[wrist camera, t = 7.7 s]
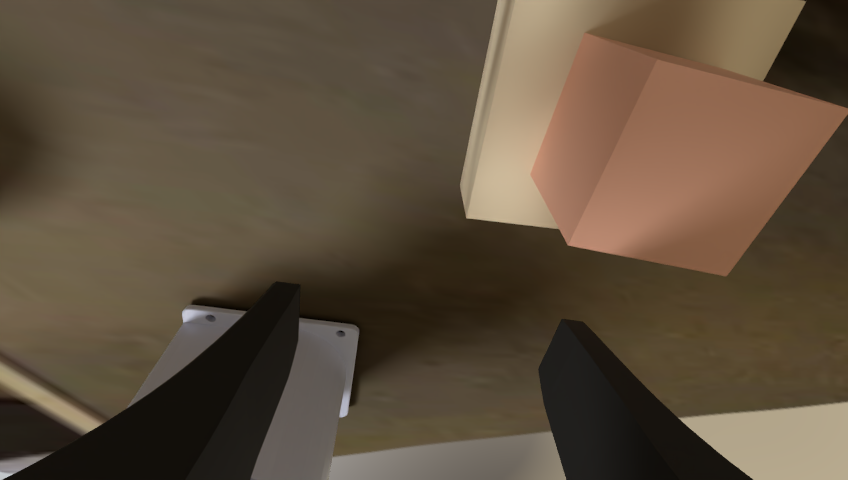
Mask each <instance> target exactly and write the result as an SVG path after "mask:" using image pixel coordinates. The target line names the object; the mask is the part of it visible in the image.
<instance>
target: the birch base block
mask: <svg viewBox="0 0 848 480" xmlns="http://www.w3.org/2000/svg"><path fill="white" fill-rule="evenodd" d="M805 3H806V1H802V0H498V2H497V7H496V12H495V17H494V22H493V27H492V31H491V36H490V41H489V46H488V51H487V56H486V61H485V66H484V70H483V75H482V80H481V85H480V90H479V95H478V100H477V105H476V109H475V114H474V119H473V124H472V129H471V134H470V139H469V144H468V148H467V153H466V158H465V163H464V168H463V173H462V178H461V183H460V189H461V194H462V199H463V204H464V208H465V213H466V218H470V219H478V220H486V221H495V222H503V223H512V224H520V225H529V226H537V227H546V228H554V229H559V228H558V226H557V224H556V222H555V220H554V218H553V216H552V215H551V213H550V211H549V209H548V207H547V205H546V203H545V201H544V200H543V198H542V196H541V194H540V192H539V190H538V188H537V186H536V185H535V183H534V181H533V179H532V177H531V175H530V173H531V171H532V168H533V165H534V163H535V160H536V158H537V155H538V152H539V150H540V147H541V145H542V142H543V139H544V137H545V134H546V131H547V129H548V126H549V124H550V121H551V118H552V116H553V113H554V111H555V108H556V105H557V103H558V100H559V98H560V95H561V92H562V90H563V87H564V85H565V82H566V79H567V77H568V74H569V72H570V69H571V66H572V64H573V61H574V58H575V56H576V53H577V51H578V48H579V45H580V43H581V40H582V38H583V35H584V33H588V34H592V35H596V36H599V37H603V38H607V39H611V40H615V41H619V42H622V43H626V44H630V45H634V46H638V47H642V48H646V49H649V50H653V51H657V52H661V53H665V54H669V55H672V56H676V57H680V58H684V59H688V60H692V61H695V62H699V63H703V64H707V65H711V66H715V67H719V68H722V69H726V70H729V71H732V72H735V73H738V74H741V75H745V76H748V77H751V78H754V79H757V80H760V81H763V80H764V79H765V77H766V75H767V73H768V71H769V69H770V67H771V66H772V64H773V62H774V60H775V58H776V56H777V54H778V53H779V51H780V49H781V47H782V45H783V43H784V42H785V40H786V38H787V36H788V34H789V32H790V30H791V29H792V27H793V25H794V23H795V21H796V19H797V17H798V16H799V14H800V12H801V10H802V8H803V6H804V5H805Z"/></svg>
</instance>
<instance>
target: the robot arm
mask: <svg viewBox="0 0 848 480" xmlns="http://www.w3.org/2000/svg"><path fill="white" fill-rule="evenodd" d="M299 310H300V285H299V284H291V283H284V282H275V283H274V284H272V285H271V286H270V288H269V289H268V290H267V291H266V292H265V293H264V294H263V295H262V296H261V297H260V298H259V300H258V301H257V302H256V303H255V304H254V305H253V306H252V307H251V308H250V309H249V310H248V311H240V310H232V309H223V308H215V307H207V306H199V305H188V306H186V307H185V309H184V310H183V312H182V317H183V324H182V326H181V327H180V329H179V330H178V332H177V333H176V335H175V336H174V338H173V339H172V341H171V342H170V344H169V345H168V347H167V348H166V350H165V351H164V353H163V354H162V356H161V357H160V359H159V360H158V362H157V363H156V365H155V366H154V368H153V370H152V371H151V373H150V374H149V376H148V377H147V379H146V380H145V382H144V383H143V385H142V386H141V388H140V389H139V391H138V392H137V394H136V395H135V397H134V398H133V400H132V401H131V403H130V404H129V406H128V407H127V409H125V410H124V411H122V412H121V413H119V414H118V415H116V416H114V417H113V418H111V419H110V420H108V421H107V422H105V423H103V424H102V425H100V426H99V427H97V428H95V429H93V430H92V431H90V432H88V433H87V434H85V435H83V436H81V437H80V438H78V439H76V440H75V441H73V442H71V443H69V444H68V445H66V446H64V447H62V448H61V449H59V450H57V451H56V452H54V453H52V454H50V455H49V456H47V457H45V458H43V459H41V460H40V461H38V462H36V463H34V464H32V465H30V466H29V467H27V468H25V469H23V470H21V471H19V472H17V473H15V474H13V475H11V476H9V477H7V478H5V479H3V480H328V479H329V472H330V467H331V461H332V456H333V450H334V444H335V438H336V433H337V427H338V421H339V417H344V416H346V415H347V414H348V409H349V402H350V395H351V388H352V381H353V373H354V366H355V359H356V352H357V345H358V337H359V329H358V327H357V326H355V325H352V324H346V323H337V322H329V321H321V320H313V319H305V318H299ZM210 315H213V316H214V317H212V316H210ZM339 331H344V332H339ZM539 376H540V383H541V390H542V395H543V401H544V406H545V409H546V413H547V416H548V420H549V423H550V426H551V430H552V433H553V437H554V440H555V443H556V446H557V450H558V453H559V456H560V460H561V463H562V466H563V470H564V473H565V476H566V480H753V479H752V478H750V477H749V476H748V475H746V474H745V473H744V472H742V471H741V470H740V469H739V468H737V467H736V466H735V465H733V464H732V463H730V462H729V461H728V460H727V459H726V458H724V457H723V456H722V455H720V454H719V453H718V452H717V451H716V450H714V449H713V448H712V447H711V446H710V445H709V444H707V443H706V442H705V441H704V440H703V439H701V438H700V437H699V436H698V435H697V434H696V433H694V432H693V431H692V430H691V429H690V428H688V427H687V426H686V425H685V424H684V423H683V422H682V421H681V420H680V419H678V418H677V417H676V416H675V415H674V414H673V413H672V412H671V411H670V410H669V409H668V408H667V407H666V406H665V405H664V404H663V403H662V402H660V401H659V400H658V399H657V398H656V397H655V396H654V395H653V394H652V393H651V392H650V391H649V390H648V389H647V388H646V387H645V386H644V385H643V384H642V383H641V382H640V381H639V380H638V379H637V378H636V377H635V376H634V375H633V374H632V373H631V371H630V370H629V369H628V368H627V367H626V366H625V365H624V364H623V363H622V362H621V361H620V360H619V359H618V358H617V357H616V356H615V355H614V354H613V352H612V351H611V350H610V349H609V348H608V347H607V346H606V345H605V344H604V343H603V342H602V341H601V340H600V339H599V338H598V337H597V336H596V334H595V333H594V332H593V331H592V330H591V329H590V328H589V327H588V326H587V325H586V324H584V323H583V322H581V321H574V320H566V319H562V320H561V322H560V324H559V326H558V328H557V330H556V333H555V335H554V337H553V339H552V341H551V343H550V345H549V347H548V349H547V352H546V354H545V356H544V358H543V360H542V362H541V364H540V366H539Z"/></svg>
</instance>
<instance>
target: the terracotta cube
mask: <svg viewBox="0 0 848 480" xmlns="http://www.w3.org/2000/svg"><path fill="white" fill-rule="evenodd" d="M847 114H848V108H845V107H842V106H839V105H836V104H832V103H829V102H826V101H823V100H820V99H817V98H814V97H810V96H807V95H804V94H801V93H798V92H795V91H792V90H788V89H785V88H782V87H779V86H776V85H773V84H770V83H767V82H763V81H760V80H757V79H754V78H751V77H748V76H745V75H741V74H738V73H735V72H732V71H729V70H726V69H722V68H719V67H715V66H711V65H707V64H703V63H699V62H695V61H692V60H688V59H684V58H680V57H676V56H672V55H669V54H665V53H661V52H657V51H653V50H649V49H646V48H642V47H638V46H634V45H630V44H626V43H622V42H619V41H615V40H611V39H607V38H603V37H599V36H596V35H592V34H588V33H584V35H583V38H582V40H581V43H580V45H579V48H578V51H577V53H576V56H575V58H574V61H573V64H572V66H571V69H570V72H569V74H568V77H567V79H566V82H565V85H564V87H563V90H562V92H561V95H560V98H559V100H558V103H557V105H556V108H555V111H554V113H553V116H552V118H551V121H550V124H549V126H548V129H547V131H546V134H545V137H544V139H543V142H542V145H541V147H540V150H539V152H538V155H537V158H536V160H535V163H534V165H533V168H532V171H531V173H530V175H531V177H532V179H533V181H534V183H535V185H536V186H537V188H538V190H539V192H540V194H541V196H542V198H543V200H544V201H545V203H546V205H547V207H548V209H549V211H550V213H551V215H552V216H553V218H554V220H555V222H556V224H557V226H558V228H559V230H560V231H561V233H562V235H563V237H564V239H565V241H566V243H567V244H568V246H574V247H579V248H584V249H589V250H594V251H599V252H604V253H609V254H614V255H620V256H625V257H630V258H635V259H640V260H645V261H650V262H655V263H661V264H666V265H671V266H676V267H681V268H686V269H691V270H696V271H701V272H707V273H712V274H717V275H722V276H727V275H728V274H729V272H730V271H731V270H732V268H733V267H734V266H735V264H736V263H737V262H738V260H739V259H740V258H741V256H742V255H743V254H744V252H745V251H746V250H747V248H748V247H749V246H750V244H751V243H752V242H753V240H754V239H755V238H756V236H757V235H758V234H759V232H760V231H761V229H762V228H763V227H764V225H765V224H766V223H767V221H768V220H769V219H770V217H771V216H772V215H773V213H774V212H775V211H776V209H777V208H778V207H779V205H780V204H781V203H782V201H783V200H784V199H785V197H786V196H787V195H788V193H789V192H790V191H791V189H792V188H793V187H794V185H795V184H796V183H797V181H798V180H799V179H800V177H801V176H802V175H803V173H804V172H805V171H806V169H807V168H808V167H809V165H810V164H811V163H812V161H813V160H814V159H815V157H816V156H817V155H818V153H819V152H820V151H821V149H822V148H823V147H824V145H825V144H826V143H827V141H828V140H829V139H830V137H831V136H832V135H833V133H834V132H835V131H836V129H837V128H838V127H839V125H840V124H841V122H842V121H843V120H844V118H845V117H846V116H847Z"/></svg>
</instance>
